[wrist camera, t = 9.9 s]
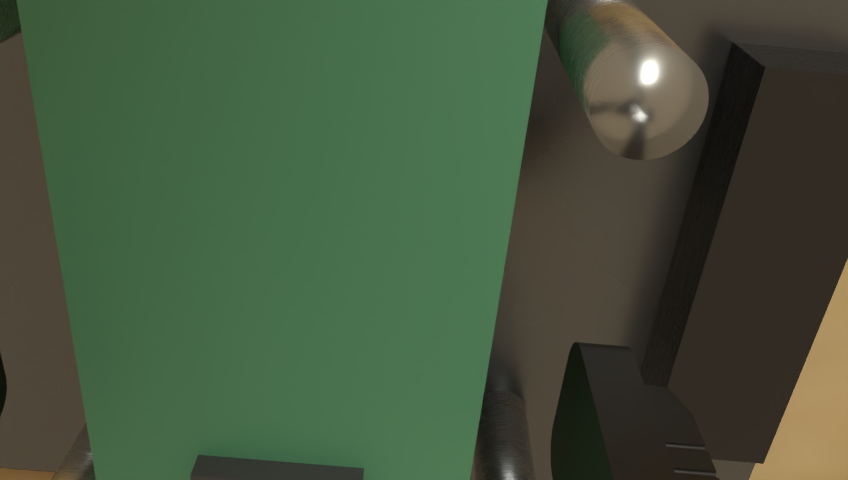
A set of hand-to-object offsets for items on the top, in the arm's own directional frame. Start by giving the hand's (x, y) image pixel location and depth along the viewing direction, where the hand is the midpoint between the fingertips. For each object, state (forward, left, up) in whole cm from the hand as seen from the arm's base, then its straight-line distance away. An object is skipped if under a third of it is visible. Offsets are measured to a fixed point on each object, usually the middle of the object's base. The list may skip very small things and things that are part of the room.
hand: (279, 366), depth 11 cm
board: (0, 0, -3) cm, 3 cm away
